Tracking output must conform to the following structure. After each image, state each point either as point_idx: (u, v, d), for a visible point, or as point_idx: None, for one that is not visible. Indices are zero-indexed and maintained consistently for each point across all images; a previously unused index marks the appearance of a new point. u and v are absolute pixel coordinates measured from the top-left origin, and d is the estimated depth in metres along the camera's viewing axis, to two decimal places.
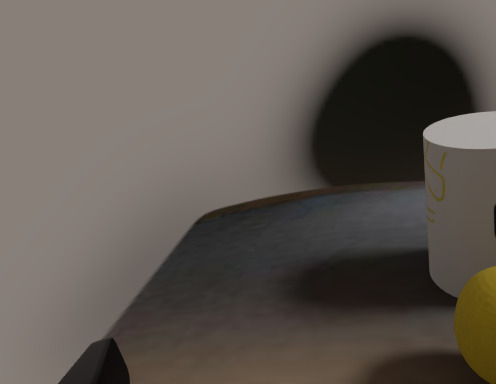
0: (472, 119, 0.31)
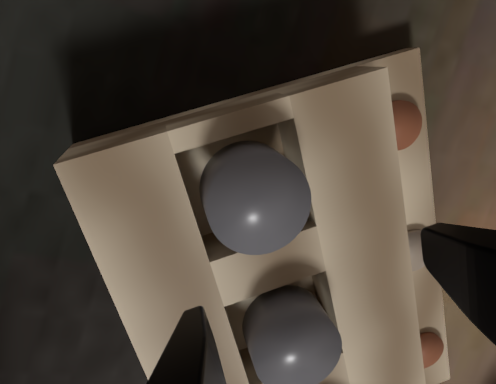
0: None
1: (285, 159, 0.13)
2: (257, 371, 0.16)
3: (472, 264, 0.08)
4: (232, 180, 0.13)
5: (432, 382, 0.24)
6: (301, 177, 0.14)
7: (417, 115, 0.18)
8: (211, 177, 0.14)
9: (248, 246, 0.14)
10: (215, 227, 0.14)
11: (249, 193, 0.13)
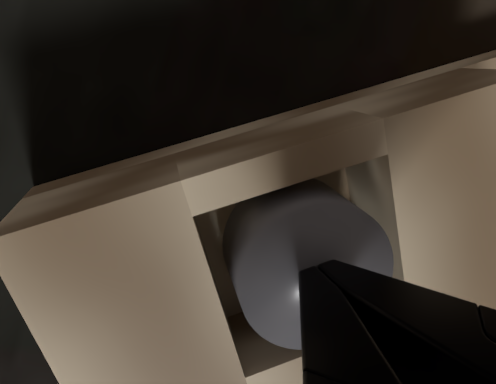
0: None
1: (360, 211, 0.09)
2: None
3: None
4: (279, 244, 0.08)
5: None
6: (381, 237, 0.09)
7: None
8: (245, 237, 0.09)
9: (299, 338, 0.09)
10: (251, 314, 0.09)
11: (303, 263, 0.09)
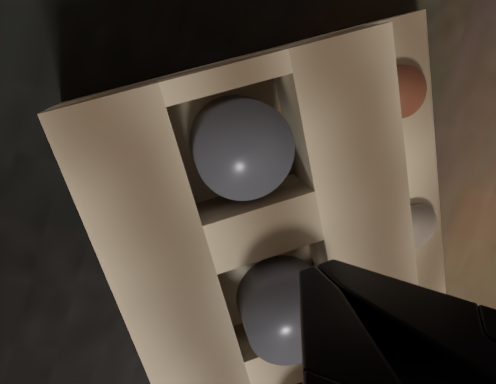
0: None
1: (270, 107, 0.14)
2: (250, 341, 0.15)
3: None
4: (219, 125, 0.14)
5: None
6: (285, 125, 0.14)
7: (422, 81, 0.17)
8: (199, 123, 0.14)
9: (234, 192, 0.15)
10: (202, 171, 0.14)
11: (235, 139, 0.14)
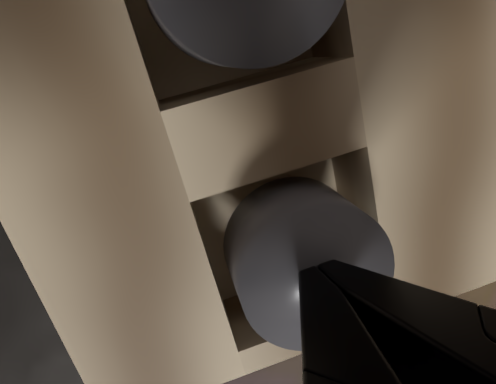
0: None
1: None
2: None
3: None
4: None
5: None
6: None
7: None
8: None
9: None
10: None
11: None
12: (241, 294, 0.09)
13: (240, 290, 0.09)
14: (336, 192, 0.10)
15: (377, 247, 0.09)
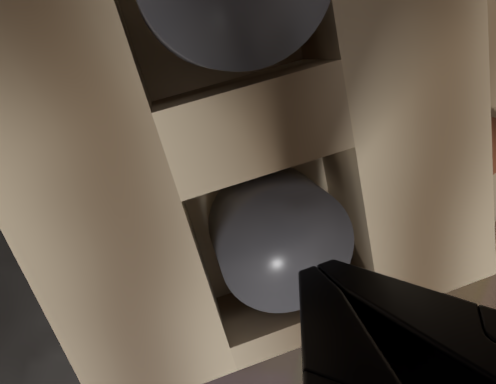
0: None
1: None
2: None
3: None
4: None
5: None
6: None
7: None
8: None
9: None
10: None
11: None
12: (221, 261, 0.10)
13: (220, 258, 0.10)
14: (306, 177, 0.12)
15: (338, 222, 0.11)
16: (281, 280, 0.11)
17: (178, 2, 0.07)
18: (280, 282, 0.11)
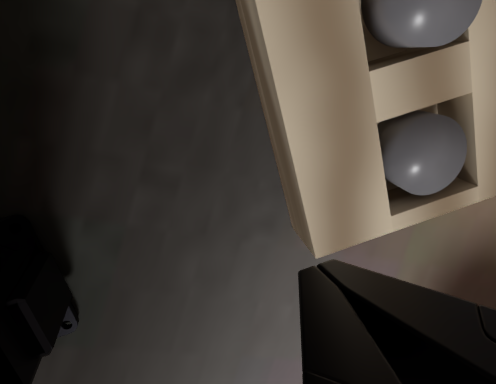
0: None
1: None
2: (393, 5, 0.14)
3: None
4: None
5: None
6: None
7: None
8: None
9: None
10: None
11: None
12: (392, 160, 0.18)
13: (392, 158, 0.18)
14: None
15: (459, 138, 0.18)
16: (423, 174, 0.18)
17: (410, 13, 0.14)
18: (423, 175, 0.18)
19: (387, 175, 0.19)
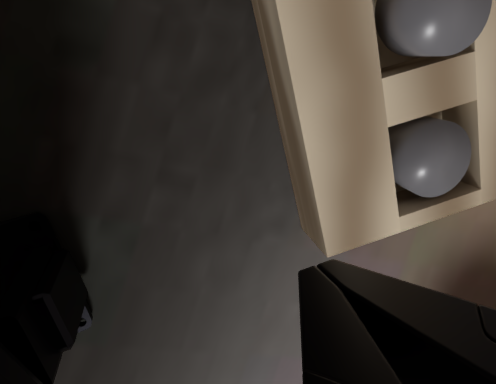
0: None
1: None
2: (407, 16, 0.15)
3: None
4: None
5: None
6: None
7: None
8: None
9: None
10: None
11: None
12: (402, 163, 0.18)
13: (401, 161, 0.18)
14: None
15: (464, 143, 0.19)
16: (430, 176, 0.19)
17: (423, 24, 0.15)
18: (430, 178, 0.19)
19: (395, 178, 0.19)
